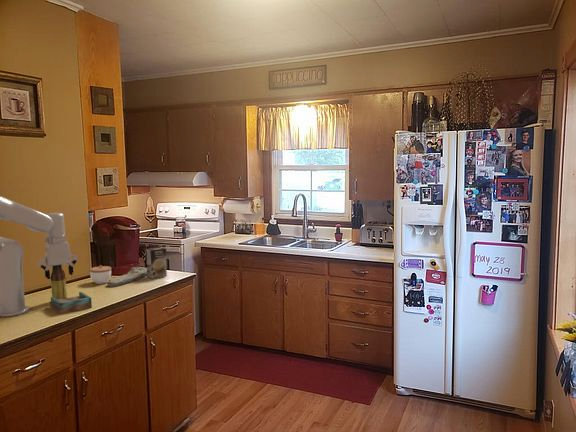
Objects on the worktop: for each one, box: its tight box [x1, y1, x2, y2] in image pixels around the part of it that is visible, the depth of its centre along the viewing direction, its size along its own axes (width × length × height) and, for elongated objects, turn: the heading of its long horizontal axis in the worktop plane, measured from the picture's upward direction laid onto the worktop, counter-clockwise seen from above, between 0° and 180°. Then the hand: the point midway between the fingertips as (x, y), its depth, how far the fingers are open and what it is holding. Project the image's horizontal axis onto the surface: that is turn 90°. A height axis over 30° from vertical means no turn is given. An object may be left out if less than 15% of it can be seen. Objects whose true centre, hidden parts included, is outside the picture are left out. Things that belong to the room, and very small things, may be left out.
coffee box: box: [146, 246, 168, 279], centre depth 260 cm, size 9×6×16 cm
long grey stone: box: [106, 266, 147, 288], centre depth 255 cm, size 35×5×10 cm
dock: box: [50, 291, 93, 315], centre depth 205 cm, size 13×14×4 cm
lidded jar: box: [89, 264, 112, 285], centre depth 248 cm, size 11×11×9 cm
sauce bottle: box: [50, 265, 68, 300], centre depth 213 cm, size 7×6×20 cm
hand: (59, 276), depth 214 cm, fingers open, 9 cm apart
